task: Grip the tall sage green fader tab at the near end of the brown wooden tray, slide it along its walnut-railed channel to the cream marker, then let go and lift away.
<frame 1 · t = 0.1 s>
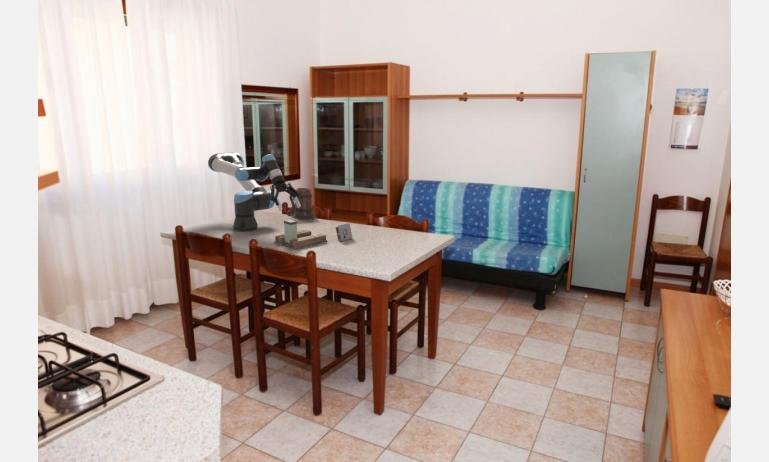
hand: (290, 208, 297), 15 cm above the table, tool tilted 35°, fingers open, 13 cm apart
brown wooden tray: (301, 242, 280), on the table
fader tab: (290, 231, 274), point 7 cm above the table, slide at 0.0 cm
electrical switch: (343, 239, 289), on the table
tankard: (300, 217, 345), on the table
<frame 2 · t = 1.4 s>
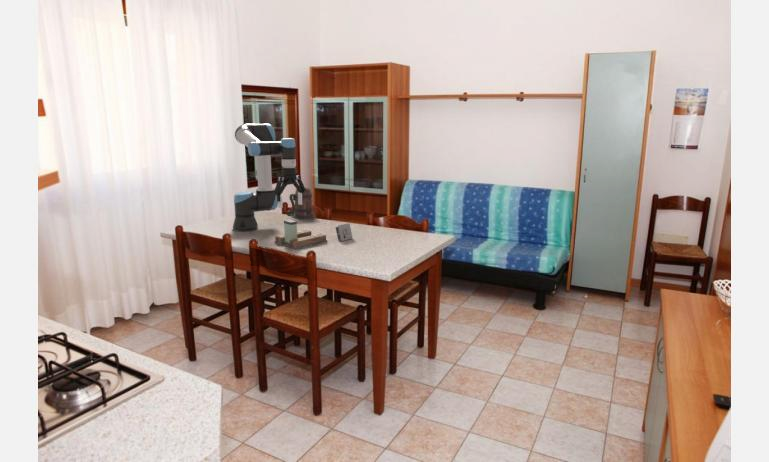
hand: (290, 206, 271), 22 cm above the table, tool pointing down, fingers open, 13 cm apart
nothing on the table moved.
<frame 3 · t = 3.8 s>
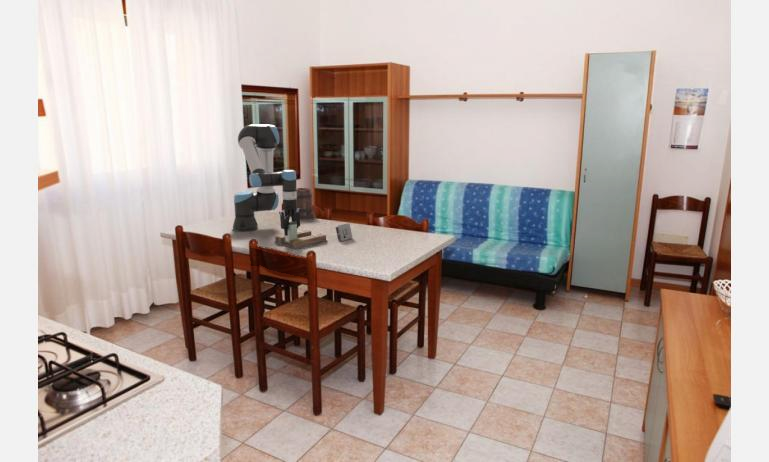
hand: (291, 240, 275), 3 cm above the table, tool pointing down, fingers closed on fader tab, 4 cm apart
fader tab: (290, 231, 274), point 7 cm above the table, slide at 0.0 cm, touching gripper
everything else where it was.
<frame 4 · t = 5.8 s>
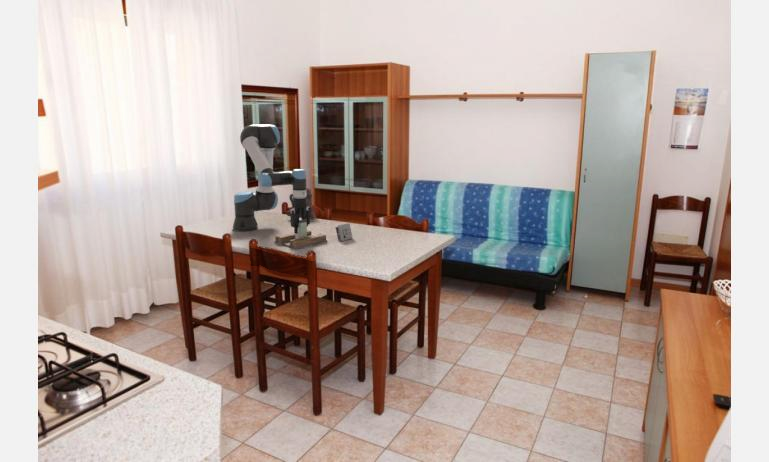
hand: (300, 237, 280), 3 cm above the table, tool pointing down, fingers closed on fader tab, 4 cm apart
fader tab: (300, 229, 279), point 7 cm above the table, slide at 6.9 cm, touching gripper
everything else where it was.
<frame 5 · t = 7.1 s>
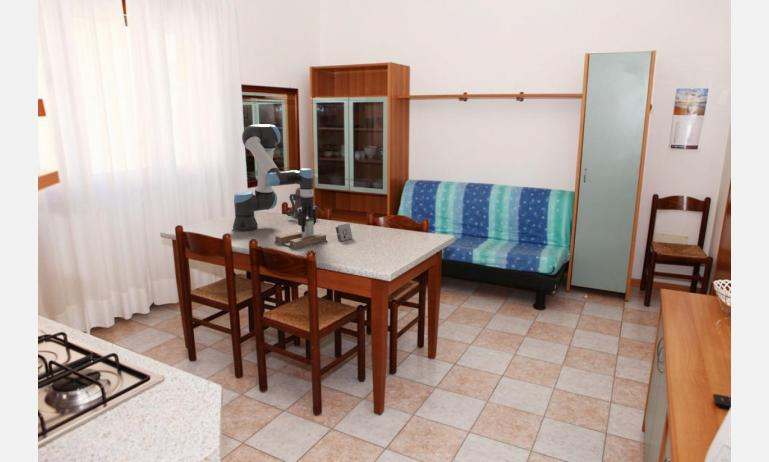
hand: (307, 236, 283), 3 cm above the table, tool pointing down, fingers closed on fader tab, 4 cm apart
fader tab: (307, 228, 282), point 7 cm above the table, slide at 11.9 cm, touching gripper
everything else where it was.
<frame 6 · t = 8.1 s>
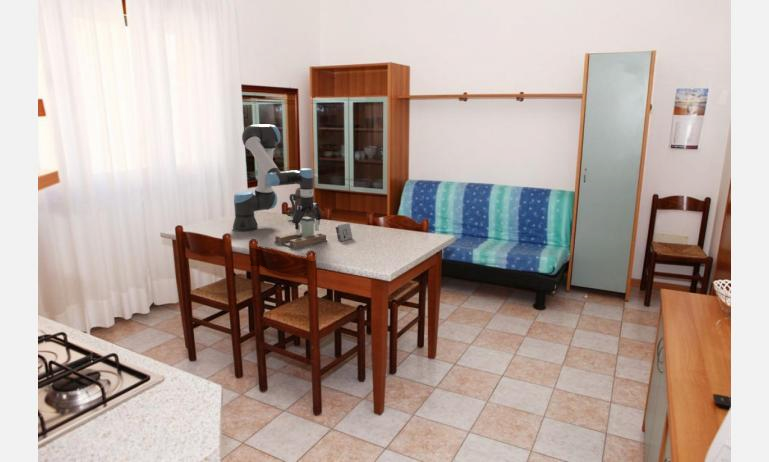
hand: (307, 232, 283), 5 cm above the table, tool pointing down, fingers open, 13 cm apart
fader tab: (307, 228, 282), point 7 cm above the table, slide at 11.9 cm
everything else where it was.
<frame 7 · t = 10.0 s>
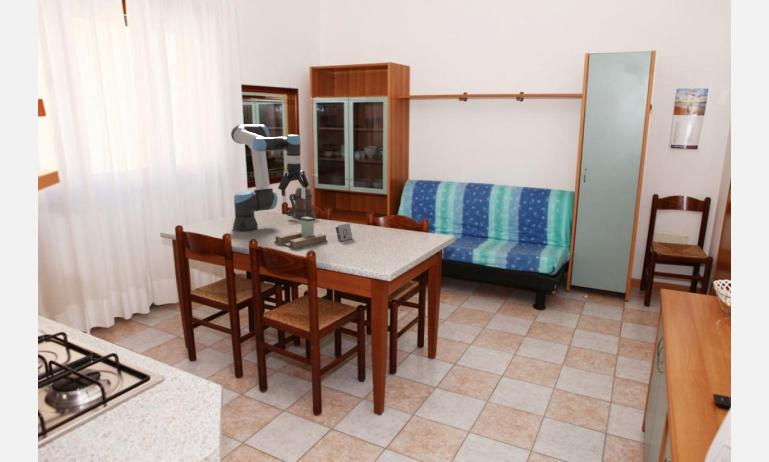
hand: (294, 200, 283), 23 cm above the table, tool pointing down, fingers open, 13 cm apart
nothing on the table moved.
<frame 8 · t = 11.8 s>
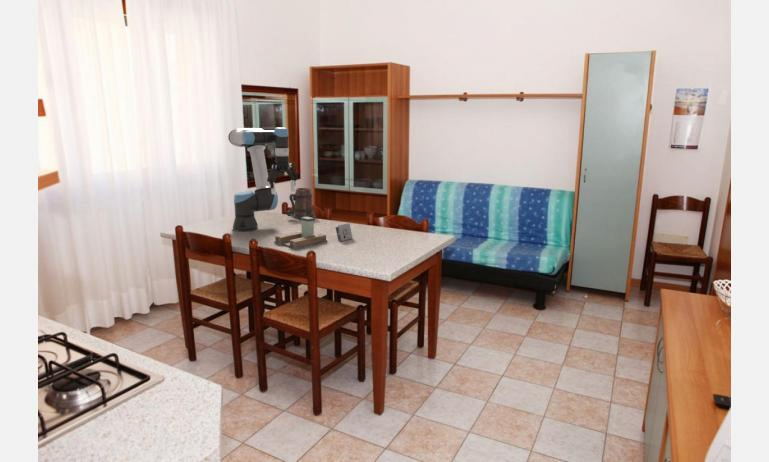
hand: (283, 192, 284), 27 cm above the table, tool pointing down, fingers open, 13 cm apart
nothing on the table moved.
at the end: fader tab slide at 11.9 cm; the gripper is holding nothing; electrical switch moved 0.3 cm from its start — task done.
